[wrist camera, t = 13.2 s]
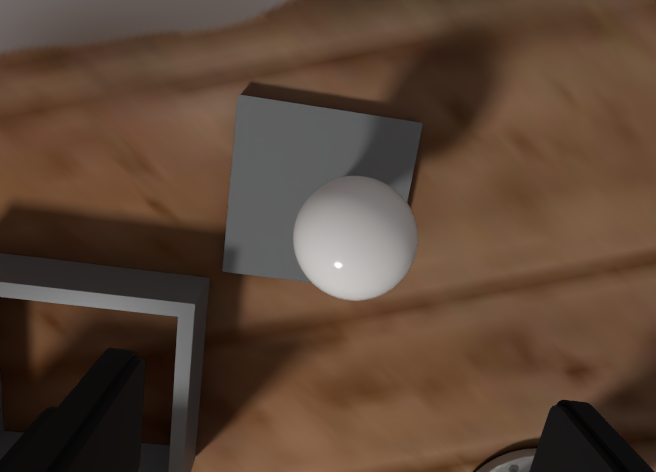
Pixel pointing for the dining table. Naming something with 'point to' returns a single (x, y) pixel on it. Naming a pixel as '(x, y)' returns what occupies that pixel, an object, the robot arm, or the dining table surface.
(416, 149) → the mat
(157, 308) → the case
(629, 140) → the dining table surface
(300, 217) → the lightbulb
